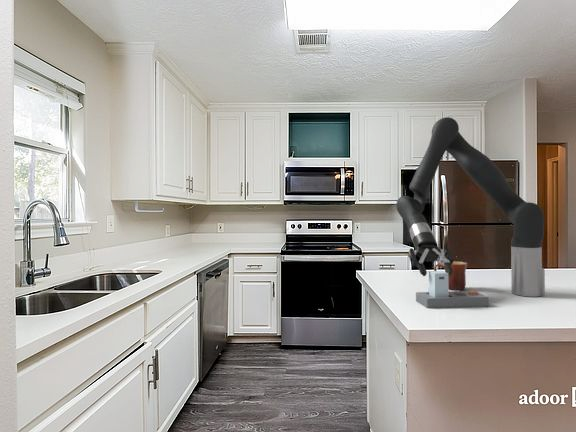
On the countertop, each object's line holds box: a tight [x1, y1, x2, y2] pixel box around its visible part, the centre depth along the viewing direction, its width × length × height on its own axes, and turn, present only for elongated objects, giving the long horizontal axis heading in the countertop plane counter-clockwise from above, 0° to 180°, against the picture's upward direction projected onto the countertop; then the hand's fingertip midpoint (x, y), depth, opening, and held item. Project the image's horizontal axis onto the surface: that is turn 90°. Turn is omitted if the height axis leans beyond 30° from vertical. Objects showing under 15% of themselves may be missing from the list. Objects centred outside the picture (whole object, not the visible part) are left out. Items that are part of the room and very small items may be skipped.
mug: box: [433, 260, 468, 291], centre depth 141 cm, size 12×9×10 cm
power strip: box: [415, 290, 490, 309], centre depth 119 cm, size 20×9×4 cm, turn 92°
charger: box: [428, 270, 450, 297], centre depth 118 cm, size 4×5×10 cm
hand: (437, 274), depth 120 cm, fingers open, 8 cm apart
